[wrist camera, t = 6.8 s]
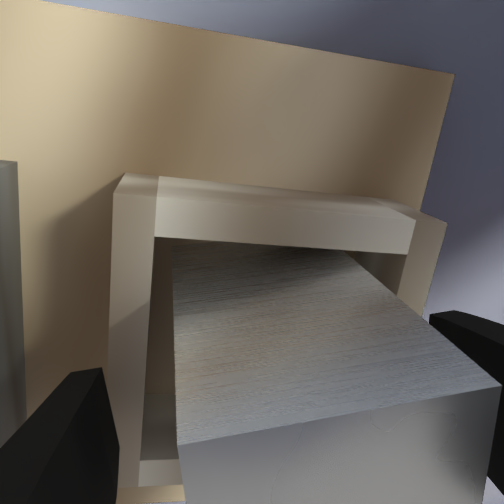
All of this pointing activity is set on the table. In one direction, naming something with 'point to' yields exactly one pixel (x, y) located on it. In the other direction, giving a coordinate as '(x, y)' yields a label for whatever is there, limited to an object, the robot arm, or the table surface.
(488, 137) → the table surface
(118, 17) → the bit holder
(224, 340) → the brushed aluminum block
